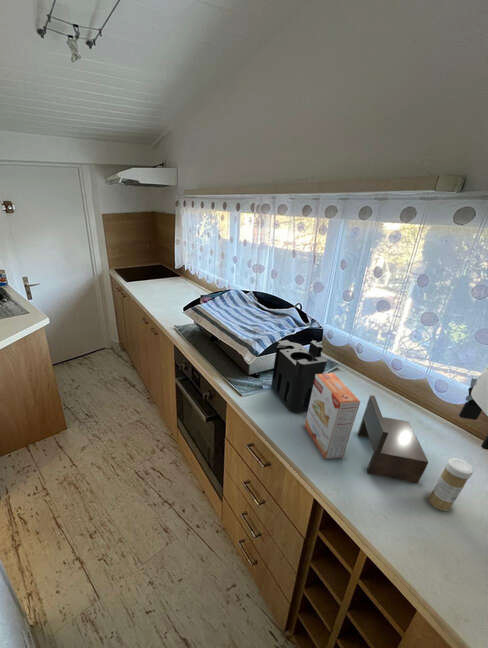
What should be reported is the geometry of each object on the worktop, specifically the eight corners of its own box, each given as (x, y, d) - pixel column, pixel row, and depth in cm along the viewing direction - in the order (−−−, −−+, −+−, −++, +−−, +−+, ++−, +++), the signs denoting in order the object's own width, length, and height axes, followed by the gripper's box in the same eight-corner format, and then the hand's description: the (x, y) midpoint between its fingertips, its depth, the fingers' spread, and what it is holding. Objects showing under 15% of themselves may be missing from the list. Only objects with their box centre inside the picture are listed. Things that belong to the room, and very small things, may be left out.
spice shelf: (400, 441, 94) (417, 402, 87) (417, 483, 80) (439, 441, 73) (357, 433, 97) (370, 395, 90) (367, 473, 84) (383, 431, 76)
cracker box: (302, 426, 100) (314, 372, 90) (320, 425, 100) (334, 371, 90) (323, 460, 88) (339, 401, 78) (343, 458, 88) (362, 400, 78)
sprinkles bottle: (440, 494, 77) (462, 456, 71) (455, 511, 73) (479, 472, 67) (423, 495, 77) (443, 457, 71) (437, 512, 73) (460, 473, 67)
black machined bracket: (292, 415, 105) (302, 360, 94) (265, 382, 123) (271, 333, 112) (322, 410, 107) (336, 355, 97) (292, 379, 125) (300, 329, 114)
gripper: (583, 393, 48) (526, 468, 56) (516, 345, 63) (478, 410, 71) (524, 385, 50) (477, 459, 58) (472, 340, 65) (441, 404, 73)
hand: (478, 432), depth 64 cm, fingers open, 9 cm apart
